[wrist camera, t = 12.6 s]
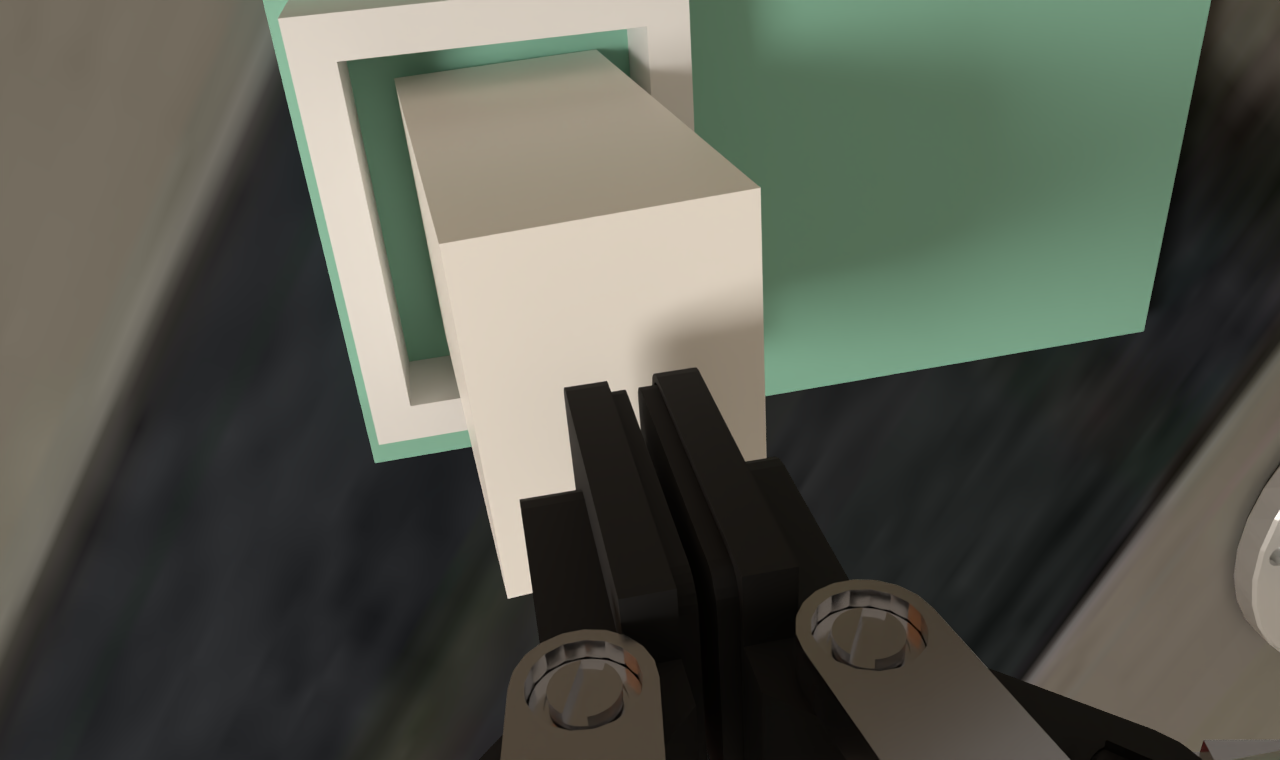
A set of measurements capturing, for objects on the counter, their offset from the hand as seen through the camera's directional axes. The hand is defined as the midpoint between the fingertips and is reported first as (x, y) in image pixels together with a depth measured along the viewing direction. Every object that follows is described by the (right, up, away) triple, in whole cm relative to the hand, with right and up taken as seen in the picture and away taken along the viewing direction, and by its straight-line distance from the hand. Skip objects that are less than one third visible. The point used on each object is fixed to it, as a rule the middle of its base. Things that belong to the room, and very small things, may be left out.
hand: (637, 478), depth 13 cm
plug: (-3, +5, +8) cm, 10 cm away
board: (+3, +7, +10) cm, 13 cm away
